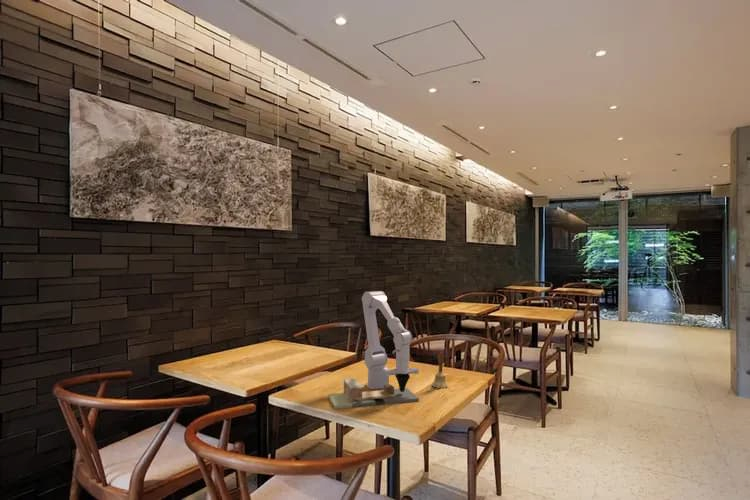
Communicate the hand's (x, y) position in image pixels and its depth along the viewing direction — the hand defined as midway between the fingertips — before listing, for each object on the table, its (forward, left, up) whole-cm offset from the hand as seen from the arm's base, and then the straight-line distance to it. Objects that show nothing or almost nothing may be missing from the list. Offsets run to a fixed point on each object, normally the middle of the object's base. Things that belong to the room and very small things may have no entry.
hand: (402, 391), depth 183 cm
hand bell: (-23, -10, -3) cm, 25 cm away
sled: (+14, 0, -1) cm, 15 cm away
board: (+13, 0, -2) cm, 13 cm away
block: (+22, 0, 0) cm, 22 cm away
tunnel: (+22, 0, -1) cm, 22 cm away
